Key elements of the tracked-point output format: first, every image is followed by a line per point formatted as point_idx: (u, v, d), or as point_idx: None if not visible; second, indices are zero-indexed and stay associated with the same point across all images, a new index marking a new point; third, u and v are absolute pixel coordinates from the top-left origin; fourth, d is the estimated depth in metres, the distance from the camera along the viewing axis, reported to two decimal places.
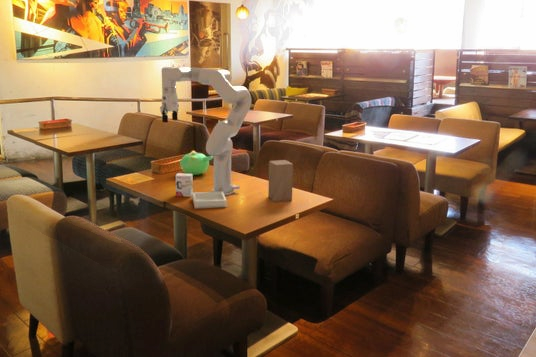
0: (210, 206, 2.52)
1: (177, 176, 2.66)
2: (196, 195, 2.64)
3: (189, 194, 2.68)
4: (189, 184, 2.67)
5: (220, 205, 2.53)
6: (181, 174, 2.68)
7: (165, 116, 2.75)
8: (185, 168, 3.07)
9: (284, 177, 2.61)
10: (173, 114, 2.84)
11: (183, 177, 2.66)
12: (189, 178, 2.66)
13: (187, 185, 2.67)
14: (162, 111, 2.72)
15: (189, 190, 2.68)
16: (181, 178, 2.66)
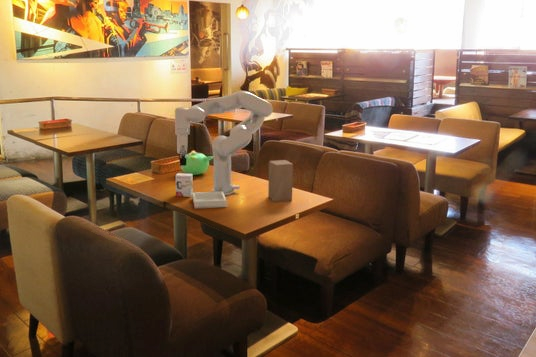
0: (210, 206, 2.52)
1: (177, 176, 2.66)
2: (196, 195, 2.64)
3: (189, 194, 2.68)
4: (189, 184, 2.67)
5: (220, 205, 2.53)
6: (181, 174, 2.68)
7: None
8: (185, 168, 3.07)
9: (284, 177, 2.61)
10: None
11: (183, 177, 2.66)
12: (189, 178, 2.66)
13: (187, 185, 2.67)
14: None
15: (189, 190, 2.68)
16: (181, 178, 2.66)
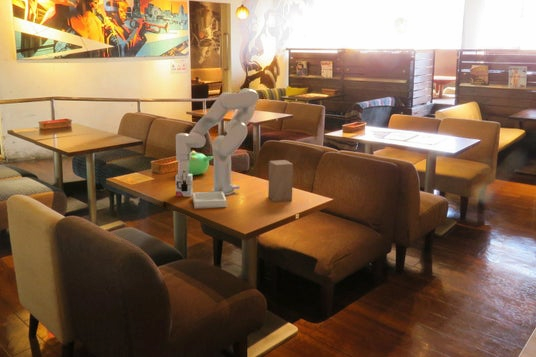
0: (210, 206, 2.52)
1: (177, 176, 2.66)
2: (196, 195, 2.64)
3: (189, 194, 2.69)
4: (189, 184, 2.67)
5: (220, 205, 2.53)
6: None
7: None
8: None
9: (284, 177, 2.61)
10: None
11: None
12: (189, 178, 2.66)
13: (187, 185, 2.67)
14: None
15: (189, 190, 2.68)
16: (181, 178, 2.66)
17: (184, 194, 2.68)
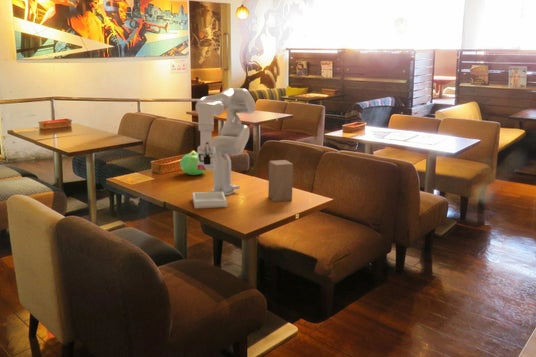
0: (210, 206, 2.52)
1: (199, 148, 2.50)
2: (196, 195, 2.64)
3: (212, 167, 2.52)
4: (212, 157, 2.51)
5: (220, 205, 2.53)
6: None
7: None
8: (185, 168, 3.07)
9: (284, 177, 2.61)
10: None
11: None
12: (212, 150, 2.50)
13: (210, 158, 2.51)
14: None
15: (212, 163, 2.52)
16: (203, 150, 2.50)
17: (207, 167, 2.52)
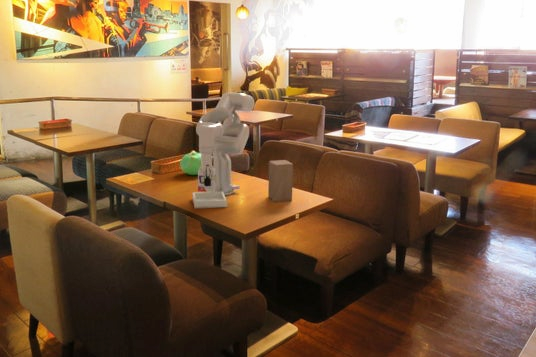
0: (210, 206, 2.52)
1: (200, 170, 2.52)
2: (196, 195, 2.64)
3: (212, 189, 2.55)
4: (212, 179, 2.53)
5: (220, 205, 2.53)
6: None
7: None
8: (185, 168, 3.07)
9: (284, 177, 2.61)
10: None
11: (206, 171, 2.52)
12: (212, 172, 2.53)
13: None
14: None
15: (212, 185, 2.54)
16: (204, 172, 2.53)
17: (207, 189, 2.55)
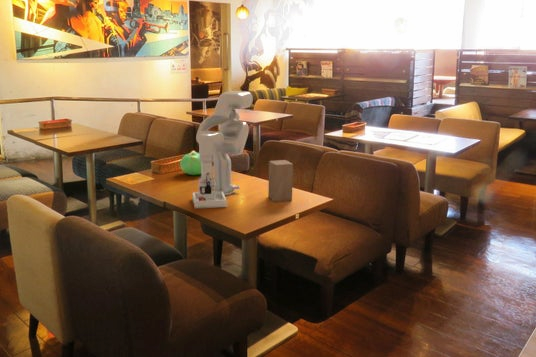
0: (210, 206, 2.52)
1: (200, 181, 2.54)
2: (196, 195, 2.64)
3: (213, 199, 2.57)
4: (213, 189, 2.56)
5: (220, 205, 2.53)
6: None
7: None
8: (185, 168, 3.07)
9: (284, 177, 2.61)
10: None
11: None
12: (213, 183, 2.55)
13: (211, 190, 2.56)
14: None
15: (213, 195, 2.57)
16: (204, 183, 2.55)
17: (208, 200, 2.57)
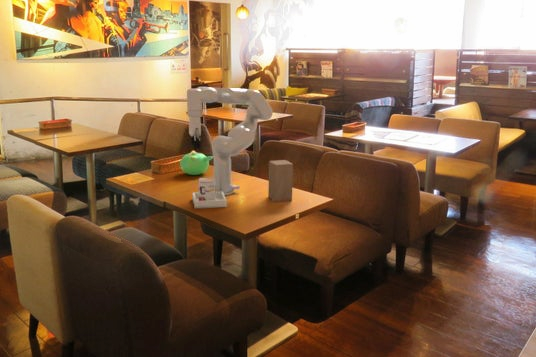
0: (210, 206, 2.52)
1: (200, 181, 2.54)
2: (196, 195, 2.64)
3: (213, 199, 2.57)
4: (213, 189, 2.56)
5: (220, 205, 2.53)
6: (204, 179, 2.57)
7: None
8: (185, 168, 3.07)
9: (284, 177, 2.61)
10: None
11: (207, 182, 2.55)
12: (213, 183, 2.55)
13: (211, 190, 2.56)
14: None
15: (213, 195, 2.57)
16: (204, 183, 2.55)
17: (208, 200, 2.57)
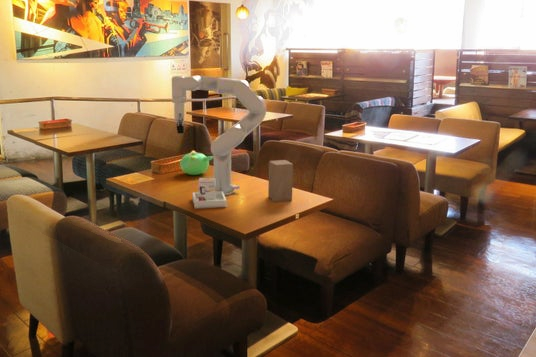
0: (210, 206, 2.52)
1: (200, 181, 2.54)
2: (196, 195, 2.64)
3: (213, 199, 2.57)
4: (213, 189, 2.56)
5: (220, 205, 2.53)
6: (204, 179, 2.57)
7: None
8: (185, 168, 3.07)
9: (284, 177, 2.61)
10: None
11: (207, 182, 2.55)
12: (213, 183, 2.55)
13: (211, 190, 2.56)
14: None
15: (213, 195, 2.57)
16: (204, 183, 2.55)
17: (208, 200, 2.57)
